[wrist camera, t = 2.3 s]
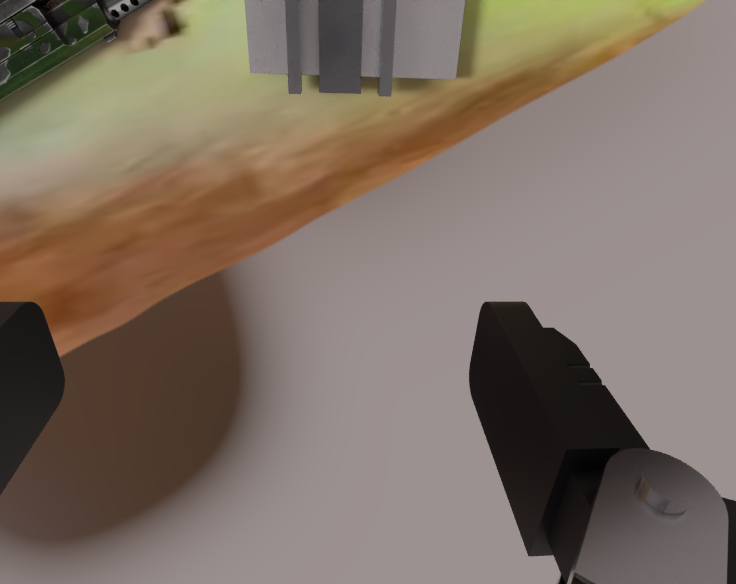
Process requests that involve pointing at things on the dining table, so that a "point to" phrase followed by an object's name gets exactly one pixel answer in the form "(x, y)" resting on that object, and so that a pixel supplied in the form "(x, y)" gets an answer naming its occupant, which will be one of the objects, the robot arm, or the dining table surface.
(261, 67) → the rail panel
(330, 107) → the dining table surface
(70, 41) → the pistol
